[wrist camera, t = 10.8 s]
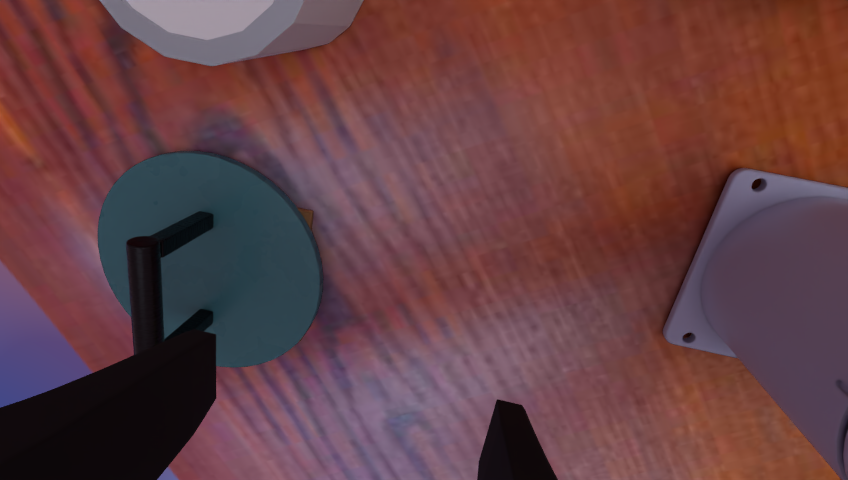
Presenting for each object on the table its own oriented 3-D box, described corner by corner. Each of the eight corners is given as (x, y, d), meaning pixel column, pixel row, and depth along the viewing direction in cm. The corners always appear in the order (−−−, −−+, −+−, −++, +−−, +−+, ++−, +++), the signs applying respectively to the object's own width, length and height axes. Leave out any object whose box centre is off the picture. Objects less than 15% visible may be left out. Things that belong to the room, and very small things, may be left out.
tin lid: (339, 174, 20) (286, 213, 15) (317, 375, 24) (270, 461, 19) (105, 126, 21) (-24, 147, 15) (122, 329, 25) (24, 400, 19)
